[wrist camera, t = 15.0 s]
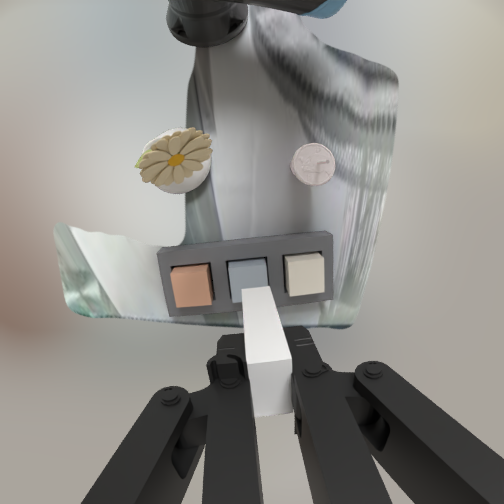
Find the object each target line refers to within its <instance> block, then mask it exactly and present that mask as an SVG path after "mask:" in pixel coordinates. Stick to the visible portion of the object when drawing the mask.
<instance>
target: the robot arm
mask: <svg viewBox="0 0 504 504" xmlns="http://www.w3.org/2000/svg"><path fill="white" fill-rule="evenodd" d="M168 1H169V6H168V10H167V15H166V20H167V25H168V27H169V29H170V31H171V33H172V34H173V36H174V37H175V38H176V39H177V40H179V41H180V42H182V43H185V44H187V45H190V46H196V47H209V46H215V45H219V44H222V43H225V42H227V41H229V40H231V39H232V38H234V37H235V36H237V35H238V34H239V33H240V32H241V31H242V29H243V28H244V26H245V25H246V22H247V18H248V6H247V4H248V5H255V6H261V7H267V8H272V9H277V10H282V11H286V12H291V13H295V14H297V15H301V16H310V17H315V18H320V19H324V18H329V17H331V16H333V15H334V14H336V13H337V12H338V11H339V10H340V9H341V8H342V7H343V5H344V3H345V2H346V1H347V0H168ZM242 305H243V321H244V333H240V334H230V335H222V337H221V338H220V339H219V340H218V342H217V354H216V355H215V356H213V357H212V358H211V359H210V360H208V362H207V370H208V375H209V379H210V385H209V386H208V387H206V388H205V389H203V390H200V391H197V392H193V393H188V391H187V390H185V389H184V388H181V387H178V386H170V387H166V388H163V389H161V390H159V391H157V392H156V393H155V394H154V395H153V397H152V398H151V400H150V401H149V403H148V404H147V406H146V407H145V409H144V410H143V412H142V413H141V414H140V416H139V417H138V419H137V420H136V422H135V423H134V425H133V426H132V428H131V430H130V431H129V432H128V434H127V435H126V437H125V438H124V440H123V441H122V443H121V445H120V446H119V447H118V449H117V450H116V452H115V453H114V455H113V456H112V458H111V459H110V461H109V462H108V464H107V465H106V467H105V468H104V470H103V471H102V473H101V474H100V476H99V477H98V479H97V480H96V482H95V483H94V485H93V486H92V488H91V489H90V491H89V492H88V494H87V495H86V497H85V498H84V500H83V501H82V503H81V504H181V502H182V500H183V498H184V495H185V493H186V491H187V488H188V486H189V483H190V481H191V479H192V476H193V474H194V471H195V469H196V467H197V464H198V462H199V459H200V457H201V454H202V452H203V449H204V446H205V444H206V446H205V461H204V477H203V494H202V504H264V503H263V493H262V484H261V475H260V465H259V455H258V445H257V435H256V426H255V419H254V417H264V416H272V415H280V414H287V413H292V412H293V409H294V413H295V434H297V435H298V439H299V443H300V448H301V452H302V456H303V460H304V465H305V469H306V473H307V478H308V482H309V486H310V490H311V494H312V499H313V503H314V504H392V502H391V499H390V497H389V495H388V492H387V490H386V488H385V485H384V483H383V481H382V478H381V476H380V474H379V472H378V469H377V467H376V465H375V462H374V460H373V458H372V456H373V457H374V458H375V459H376V460H377V461H378V463H379V464H380V465H381V466H382V467H383V468H384V469H385V471H386V472H387V473H388V474H389V475H390V476H391V478H392V479H393V480H394V481H395V482H396V483H397V484H398V486H399V487H400V488H401V489H402V490H403V491H404V492H405V493H406V494H407V496H408V497H409V498H410V499H411V500H412V501H413V502H414V503H415V504H504V459H503V458H502V457H501V456H499V455H498V454H497V453H495V452H494V451H493V450H492V449H490V448H489V447H488V446H487V445H486V444H484V443H483V442H482V441H481V440H479V439H478V438H477V437H476V436H474V435H473V434H472V433H471V432H469V431H468V430H467V429H466V428H464V427H463V426H462V425H461V424H459V423H458V422H457V421H456V420H455V419H453V418H452V417H451V416H450V415H448V414H447V413H446V412H444V411H443V410H442V409H441V408H440V407H438V406H437V405H436V404H435V403H433V402H432V401H431V400H430V399H428V398H427V397H426V396H425V395H423V394H422V393H421V392H420V391H419V390H417V389H416V388H415V387H414V386H412V385H411V384H410V383H409V382H407V381H406V380H405V379H404V378H403V377H401V376H400V375H399V374H397V373H396V372H395V371H394V370H393V369H391V368H390V367H389V366H388V365H386V364H384V363H382V362H378V361H368V362H364V363H362V364H360V365H358V366H357V368H356V369H355V373H353V372H352V373H351V372H349V373H348V372H336V371H333V370H332V368H331V367H330V366H329V365H328V364H326V363H324V362H323V361H322V359H321V357H320V355H319V353H318V350H317V348H316V346H315V344H314V341H313V339H312V337H311V335H310V333H309V331H308V330H307V329H306V328H304V327H303V326H294V327H286V328H282V325H281V321H280V318H279V315H278V311H277V308H276V305H275V302H274V298H273V295H272V292H271V289H270V286H266V287H257V288H247V289H242ZM371 454H372V456H371Z"/></svg>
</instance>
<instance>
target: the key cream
mask: <svg viewBox="0 0 504 504" xmlns="http://www.w3.org/2000/svg"><path fill="white" fill-rule="evenodd" d="M283 260H284V276H285V287H286V289H287V291H288V293H289V296H290V297H291V296H299V295H307V294H314V293H322V292H324V258H323V257H322V256H321V255H320V254H319V253H318V252H317V251H313V252H304V253H294V254H285V255H283Z"/></svg>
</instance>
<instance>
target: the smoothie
mask: <svg viewBox="0 0 504 504" xmlns="http://www.w3.org/2000/svg"><path fill="white" fill-rule="evenodd" d="M290 169H291V171H292V172H293V174H295V175H296V177H297V178H298V179H299V180H300V181H301V182H302V183H304V184H306V185H310V186H318V185H322V184H325V183H326V182H328V181H329V180H330V179H331V177H332V176H333V174H334V171H335V159H334V157H333V154H332V153H331V151H330V150H329V149H328V148H326V147H325V146H323V145H321V144H318V143H309V144H305V145H303V146H301V147H300V148H299V149H298V150H297V151H296V152H295V154H294V156H293V159H292V161H291V163H290Z"/></svg>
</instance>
